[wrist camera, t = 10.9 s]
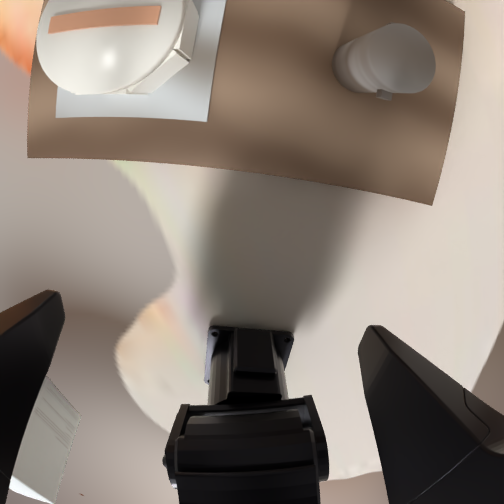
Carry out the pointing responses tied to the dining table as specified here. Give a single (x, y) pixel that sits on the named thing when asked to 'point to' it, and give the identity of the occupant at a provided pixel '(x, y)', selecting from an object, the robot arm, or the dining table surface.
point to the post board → (283, 97)
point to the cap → (115, 43)
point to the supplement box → (45, 445)
